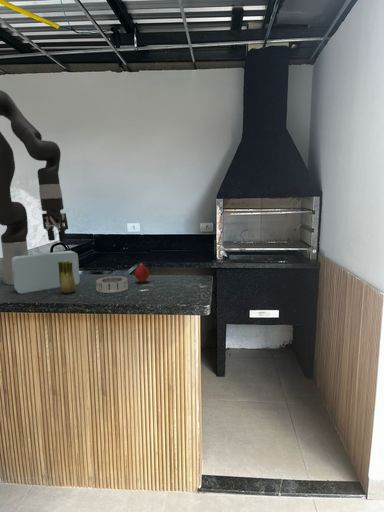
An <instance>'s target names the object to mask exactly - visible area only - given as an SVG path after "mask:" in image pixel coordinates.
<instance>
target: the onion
mask: <svg viewBox="0 0 384 512" xmlns="http://www.w3.org/2000/svg"><path fill="white" fill-rule="evenodd" d="M134 277H135V279H136V280H138V281H139V282H140V283H145V281H147V280H148V278H149V277H150V271H149V269H148V268H147V267H146V266H145V265H144V264H143V263H139V266H138V267H136V268H135V271H134Z"/></svg>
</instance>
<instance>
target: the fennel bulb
mask: <svg viewBox="0 0 384 512" xmlns="http://www.w3.org/2000/svg"><path fill="white" fill-rule="evenodd" d="M58 265H59V280H60V286H61V287H60V290H61V292H62V293H63V294H72V293H73V292H75V291H76V285H75V281H74V277H73V270H72V262H69V261H66V262H65V261H64V262H58Z"/></svg>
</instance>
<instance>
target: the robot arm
mask: <svg viewBox="0 0 384 512" xmlns="http://www.w3.org/2000/svg"><path fill="white" fill-rule="evenodd" d="M1 116H2V117H4V118H5V119H7V120H9V122H10V128H11V131H12V133H13V135H15V136H16V137H17V139H18V140H19V141H20V142H21V143H22V144H23V145H24V147H25V149H26V151H27V153H28V155H29V156H30V157H31V158H32V159H33V160H34V161H35V160H36V161H39V162H41V161H42V162H46V163H45V166H44V167H40V168H39V169H38V170H37V179H38V190H39V198H40V199H39V200H40V206H41V210H42V212H44V213H41V216H42V225H43V226H42V227H43V229H44V230H45V231H46V232H47V238H48V241H49V242H51V241H55V240H56V238H55V230H54V229H55V228H56V229H57V231H58V233H57V234H58V240H59V242H60V243H64V242H66V241H67V237H66V236H67V235H66V231H67V230H68V229H69V225H68V219H67V213H65V212H61V211H63V210H64V201H63V193H62V188H61V184H60V178H59V169H60V164H61V163H60V162H61V149H60V147H59V145H58V143H57V142H55V141H51V140H43V137H42V134H41V133H40V131H39V130H38V129H37V128H36V127H35V126H34V125H33V124H32V123H31V122H30V121H29V120H28V119H27V118H26V117H25V116H24V115H23V113H22V112H21V110H20V109H19V108H18V106H17V104H16V103H15V101H14V100H13V99H12V97H10V95H9V94H8V93H7V92H6V91H4V90H0V117H1ZM15 170H16V162H15V156H14V150H13V149H12V147H11V144H10V143H9V141H8V140H7V139H6V137H5V136H4V135H3V134H2V132H1V131H0V225H1V226H5V227H6V229H5V231H4V232H3V233H2V234H1V235H0V242H1V249H2V250H1V251H2V259H3V260H1V270H2V271H1V272H2V279H3V284H5V285H8V286H14V280H13V271H12V262H11V260H12V258H13V257H15V256H24V255H29V252H28V251H29V250H28V241H27V236H28V233H29V224H28V221H29V220H28V211H27V209H26V207H25V206H24V204H23V203H22V202H19V201H13V200H12V195H11V186H12V181H13V178H14V175H15V172H16V171H15ZM45 212H46V213H45Z"/></svg>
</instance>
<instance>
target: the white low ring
mask: <svg viewBox="0 0 384 512" xmlns="http://www.w3.org/2000/svg"><path fill="white" fill-rule="evenodd" d="M95 281H96V291H97V292H98V293H101V294H116V293H122V292H125V291H127V290H128V289H129V280H128V277H126V276H119V275H118V276H117V275H115V276H114V275H112V276H105V277H101V278H98V279H96V280H95Z"/></svg>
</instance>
